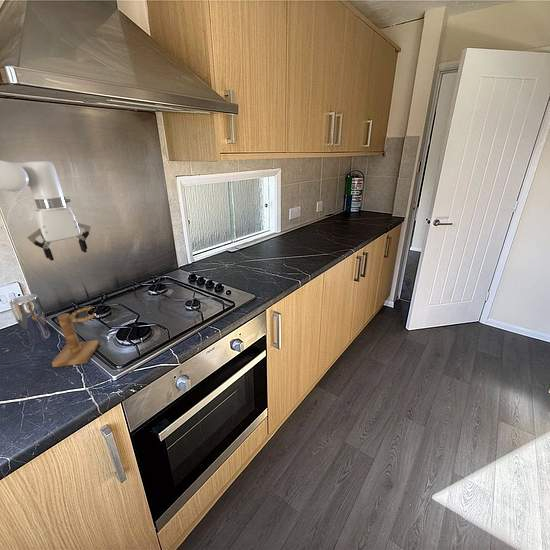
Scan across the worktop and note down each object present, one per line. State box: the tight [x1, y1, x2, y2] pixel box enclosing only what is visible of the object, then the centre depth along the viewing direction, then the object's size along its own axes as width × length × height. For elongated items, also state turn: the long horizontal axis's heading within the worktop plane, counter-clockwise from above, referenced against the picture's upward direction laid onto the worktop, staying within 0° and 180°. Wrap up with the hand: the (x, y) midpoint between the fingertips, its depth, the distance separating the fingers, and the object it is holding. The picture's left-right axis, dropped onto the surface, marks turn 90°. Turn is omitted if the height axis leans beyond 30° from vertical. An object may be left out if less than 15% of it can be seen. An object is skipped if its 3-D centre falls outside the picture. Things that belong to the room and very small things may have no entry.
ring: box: [70, 306, 96, 323], centre depth 106 cm, size 10×10×2 cm
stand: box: [51, 312, 100, 368], centre depth 83 cm, size 9×9×14 cm
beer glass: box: [9, 293, 52, 345], centre depth 90 cm, size 7×7×15 cm
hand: (68, 255), depth 98 cm, fingers open, 9 cm apart
